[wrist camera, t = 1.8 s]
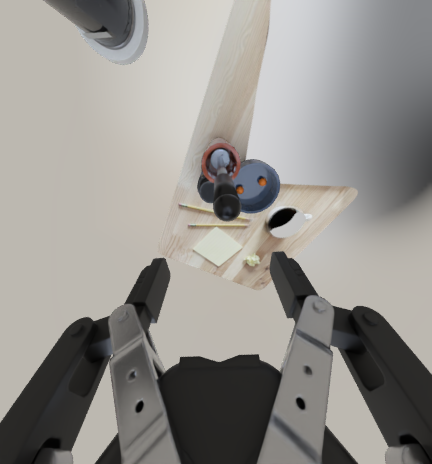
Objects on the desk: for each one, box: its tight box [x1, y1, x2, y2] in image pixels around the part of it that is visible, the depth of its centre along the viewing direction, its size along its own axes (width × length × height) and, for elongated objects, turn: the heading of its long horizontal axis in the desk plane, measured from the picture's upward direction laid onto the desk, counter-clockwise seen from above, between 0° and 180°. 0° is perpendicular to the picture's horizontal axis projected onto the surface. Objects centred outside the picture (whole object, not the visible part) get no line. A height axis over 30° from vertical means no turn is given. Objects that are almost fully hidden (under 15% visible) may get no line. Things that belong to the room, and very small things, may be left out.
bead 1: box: [236, 186, 244, 194], centre depth 40 cm, size 2×2×2 cm
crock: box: [202, 138, 241, 183], centre depth 28 cm, size 5×5×20 cm
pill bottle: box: [197, 171, 214, 203], centre depth 36 cm, size 6×6×11 cm
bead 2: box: [259, 178, 267, 186], centre depth 39 cm, size 2×2×2 cm
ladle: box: [211, 148, 241, 221], centre depth 17 cm, size 3×3×20 cm
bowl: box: [233, 159, 280, 213], centre depth 39 cm, size 12×12×5 cm
